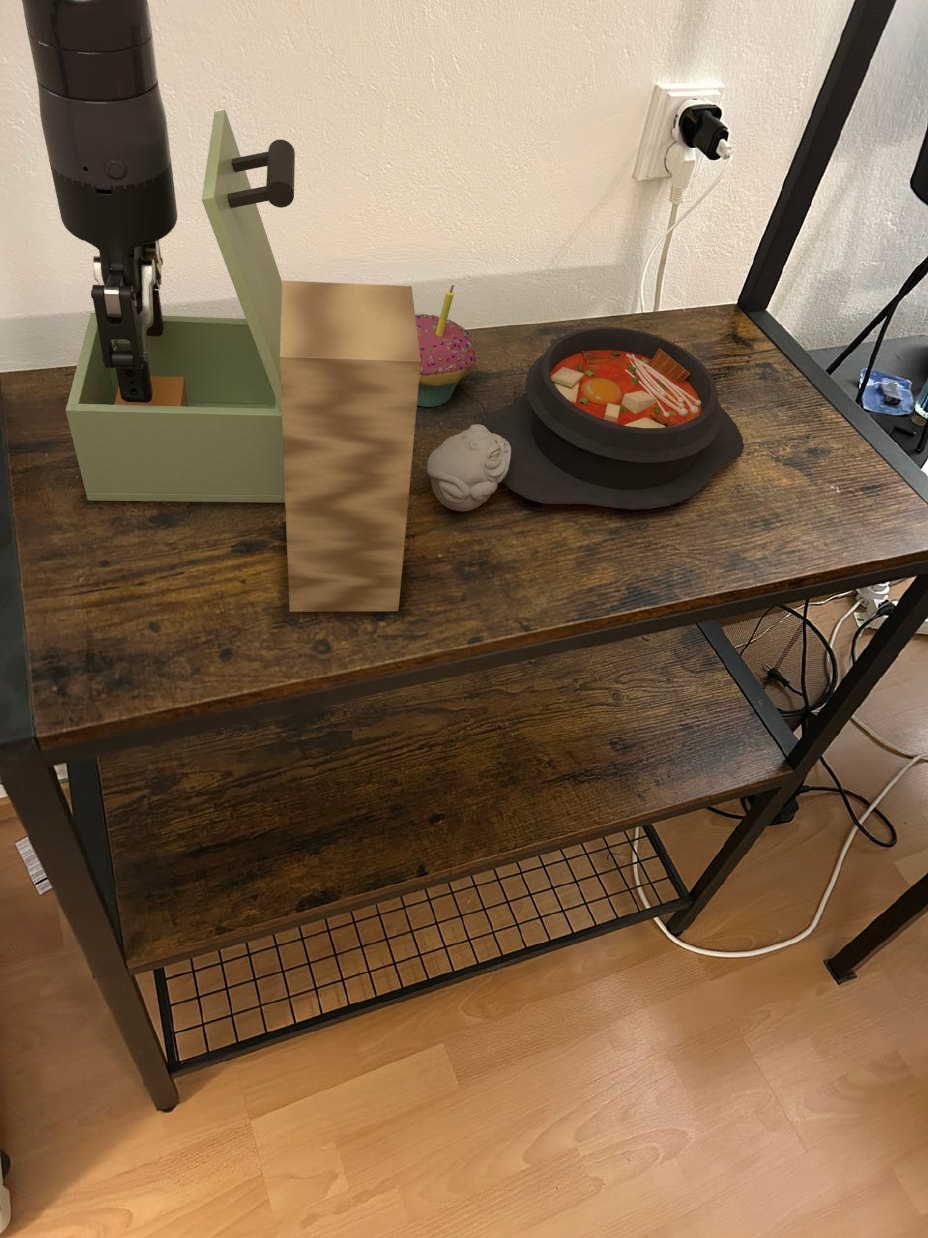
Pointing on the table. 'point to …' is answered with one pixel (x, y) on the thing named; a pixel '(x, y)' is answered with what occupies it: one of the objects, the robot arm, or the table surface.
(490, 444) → the frog figurine
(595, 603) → the table surface
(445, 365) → the cupcake
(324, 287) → the tall wooden pillar
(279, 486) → the chest
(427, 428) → the table surface
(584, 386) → the casserole
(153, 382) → the orange rectangular box
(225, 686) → the table surface
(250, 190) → the lid
